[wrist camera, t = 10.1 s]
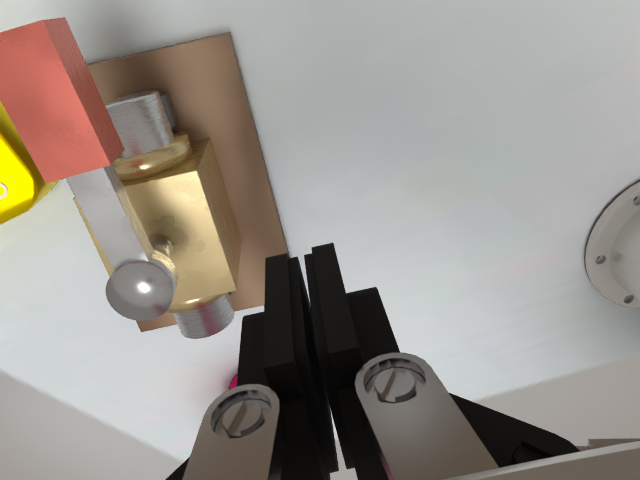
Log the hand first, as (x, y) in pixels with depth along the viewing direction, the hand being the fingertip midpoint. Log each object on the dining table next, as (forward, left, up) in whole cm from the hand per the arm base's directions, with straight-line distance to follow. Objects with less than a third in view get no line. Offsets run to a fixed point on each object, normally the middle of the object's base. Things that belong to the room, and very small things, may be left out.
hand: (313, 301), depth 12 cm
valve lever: (+9, 0, -14) cm, 17 cm away
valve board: (+9, +5, -25) cm, 27 cm away
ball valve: (+9, +5, -24) cm, 26 cm away
